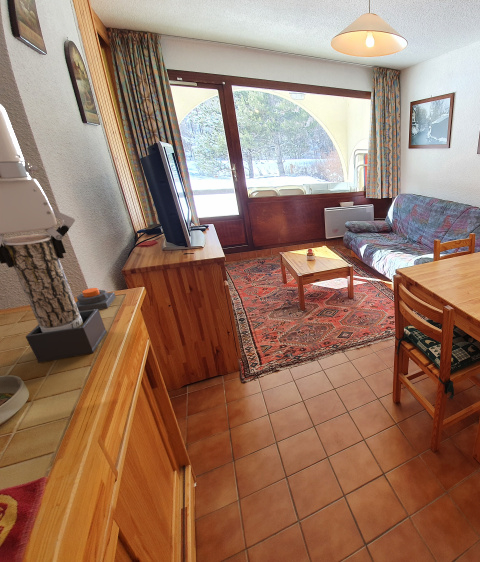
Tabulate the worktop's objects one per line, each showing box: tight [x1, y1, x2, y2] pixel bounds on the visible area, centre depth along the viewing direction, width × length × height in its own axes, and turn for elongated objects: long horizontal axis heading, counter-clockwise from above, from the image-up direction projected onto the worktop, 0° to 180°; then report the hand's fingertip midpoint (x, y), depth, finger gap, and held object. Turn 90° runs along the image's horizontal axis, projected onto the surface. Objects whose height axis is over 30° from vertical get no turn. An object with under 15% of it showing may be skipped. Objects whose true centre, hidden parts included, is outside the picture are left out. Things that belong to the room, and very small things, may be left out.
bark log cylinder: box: [2, 233, 83, 333], centre depth 68 cm, size 7×7×25 cm
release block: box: [75, 289, 117, 312], centre depth 92 cm, size 8×8×4 cm
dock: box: [25, 309, 107, 364], centre depth 72 cm, size 10×10×7 cm
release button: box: [81, 287, 100, 298], centre depth 91 cm, size 4×4×2 cm
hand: (36, 260), depth 65 cm, fingers closed on bark log cylinder, 6 cm apart
